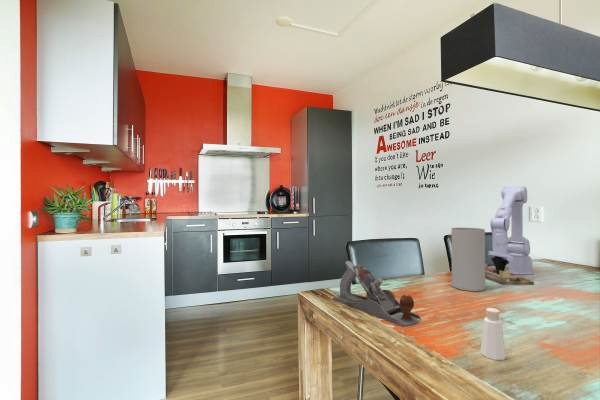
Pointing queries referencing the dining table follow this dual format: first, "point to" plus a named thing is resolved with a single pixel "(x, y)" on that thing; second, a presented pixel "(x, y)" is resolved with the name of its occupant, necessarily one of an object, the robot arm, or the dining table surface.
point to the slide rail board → (511, 280)
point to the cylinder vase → (468, 259)
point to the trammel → (494, 273)
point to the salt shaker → (493, 336)
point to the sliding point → (508, 274)
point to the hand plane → (375, 298)
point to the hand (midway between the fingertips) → (500, 273)
